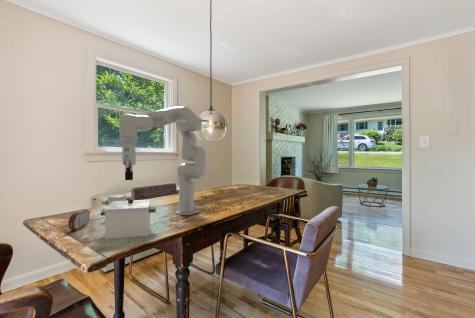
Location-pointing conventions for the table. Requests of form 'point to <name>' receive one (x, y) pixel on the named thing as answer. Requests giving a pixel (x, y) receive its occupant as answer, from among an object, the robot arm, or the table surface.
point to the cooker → (127, 223)
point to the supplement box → (116, 198)
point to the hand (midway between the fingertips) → (129, 179)
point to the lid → (128, 205)
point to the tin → (78, 219)
